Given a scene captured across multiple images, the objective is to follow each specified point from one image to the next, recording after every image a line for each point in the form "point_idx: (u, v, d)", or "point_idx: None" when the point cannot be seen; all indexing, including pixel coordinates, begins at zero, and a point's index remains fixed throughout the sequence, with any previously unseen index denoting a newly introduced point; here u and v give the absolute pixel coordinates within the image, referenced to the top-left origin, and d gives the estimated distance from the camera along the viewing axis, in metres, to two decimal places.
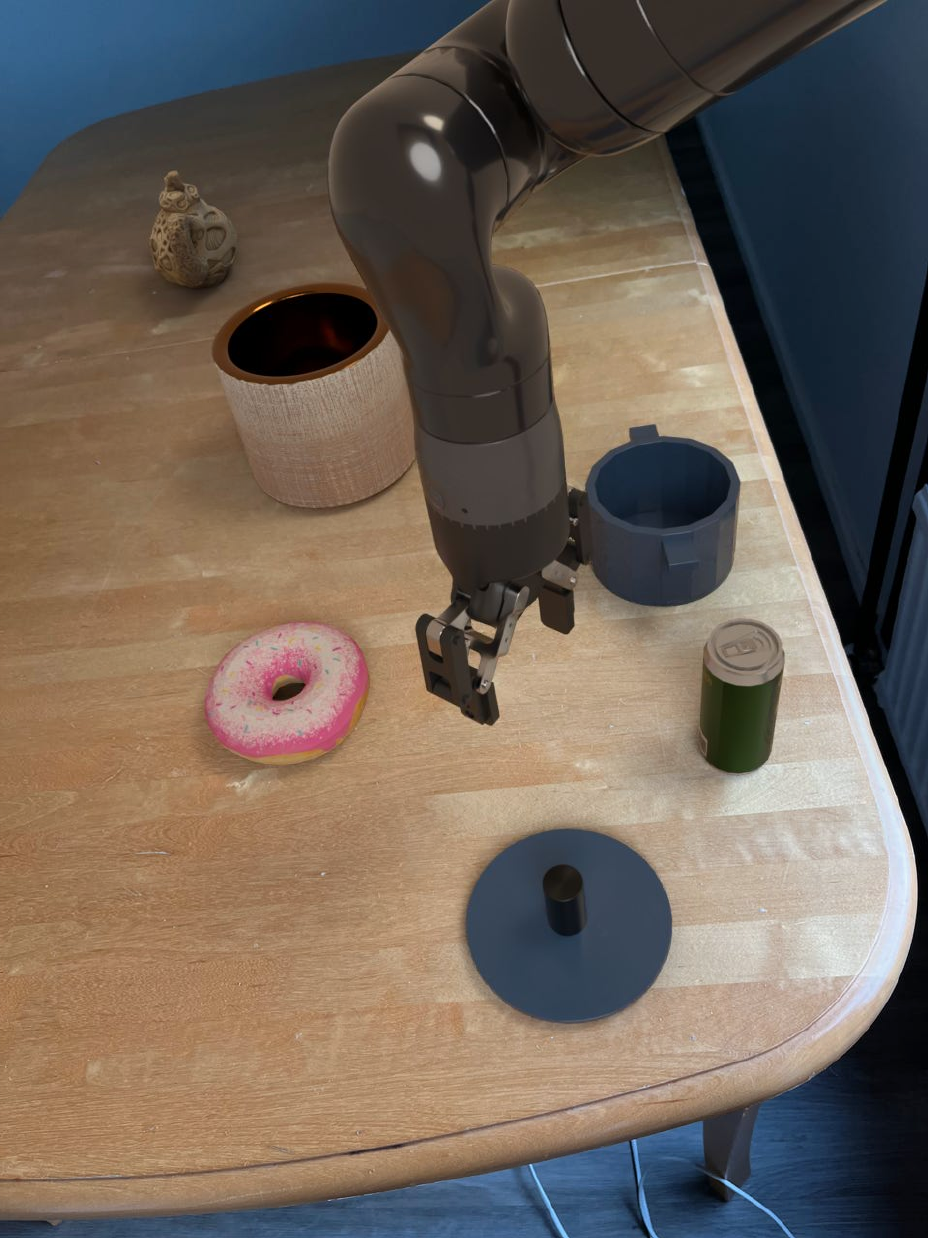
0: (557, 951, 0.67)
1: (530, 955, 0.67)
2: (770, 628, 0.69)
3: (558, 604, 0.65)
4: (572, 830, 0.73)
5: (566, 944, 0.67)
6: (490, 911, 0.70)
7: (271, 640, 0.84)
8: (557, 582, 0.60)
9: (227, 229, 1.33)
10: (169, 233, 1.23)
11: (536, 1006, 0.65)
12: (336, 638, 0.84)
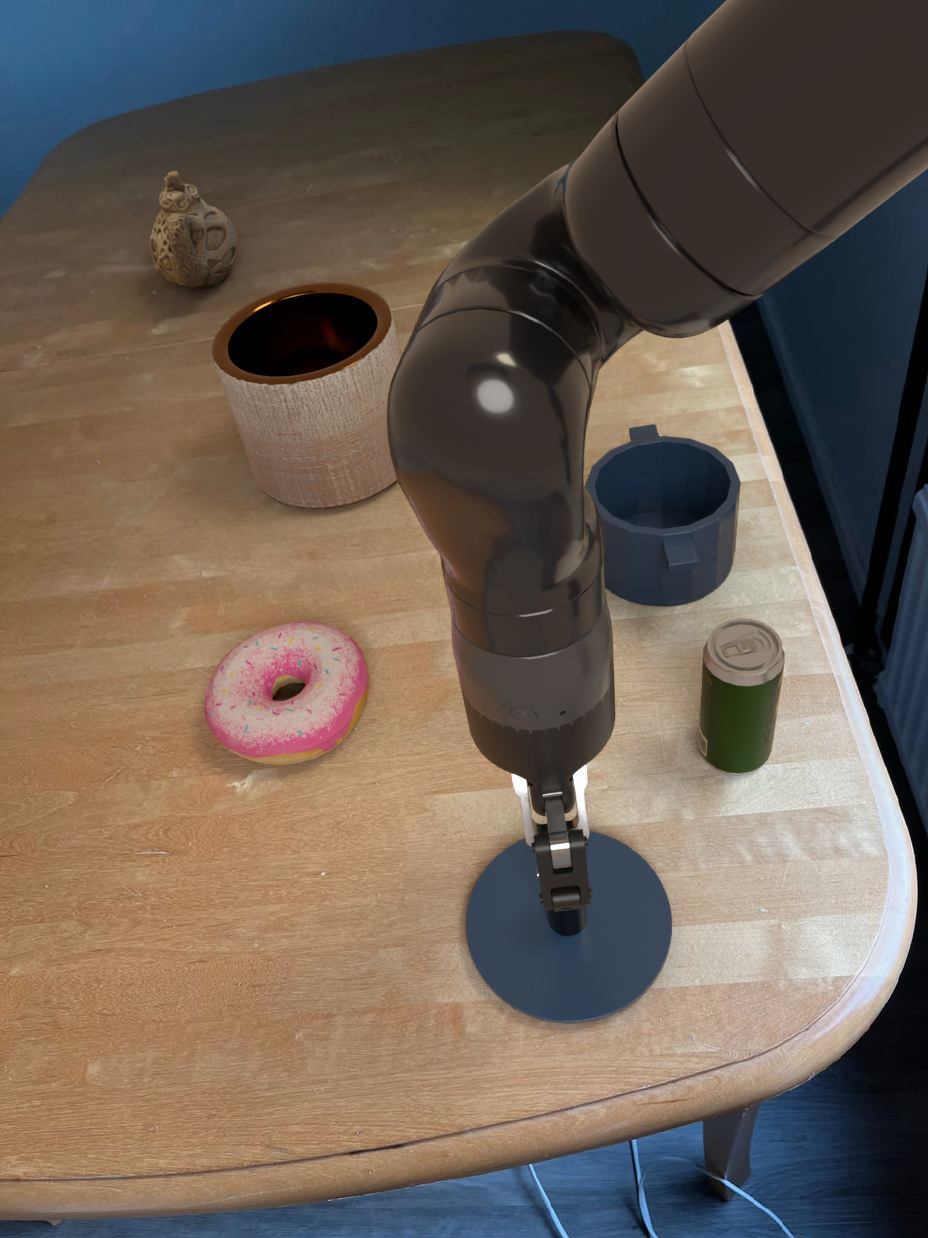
0: (557, 951, 0.67)
1: (530, 955, 0.67)
2: (770, 628, 0.69)
3: None
4: None
5: (566, 944, 0.67)
6: (490, 911, 0.70)
7: (271, 640, 0.84)
8: None
9: (227, 229, 1.33)
10: (169, 233, 1.23)
11: (536, 1006, 0.65)
12: (336, 638, 0.84)
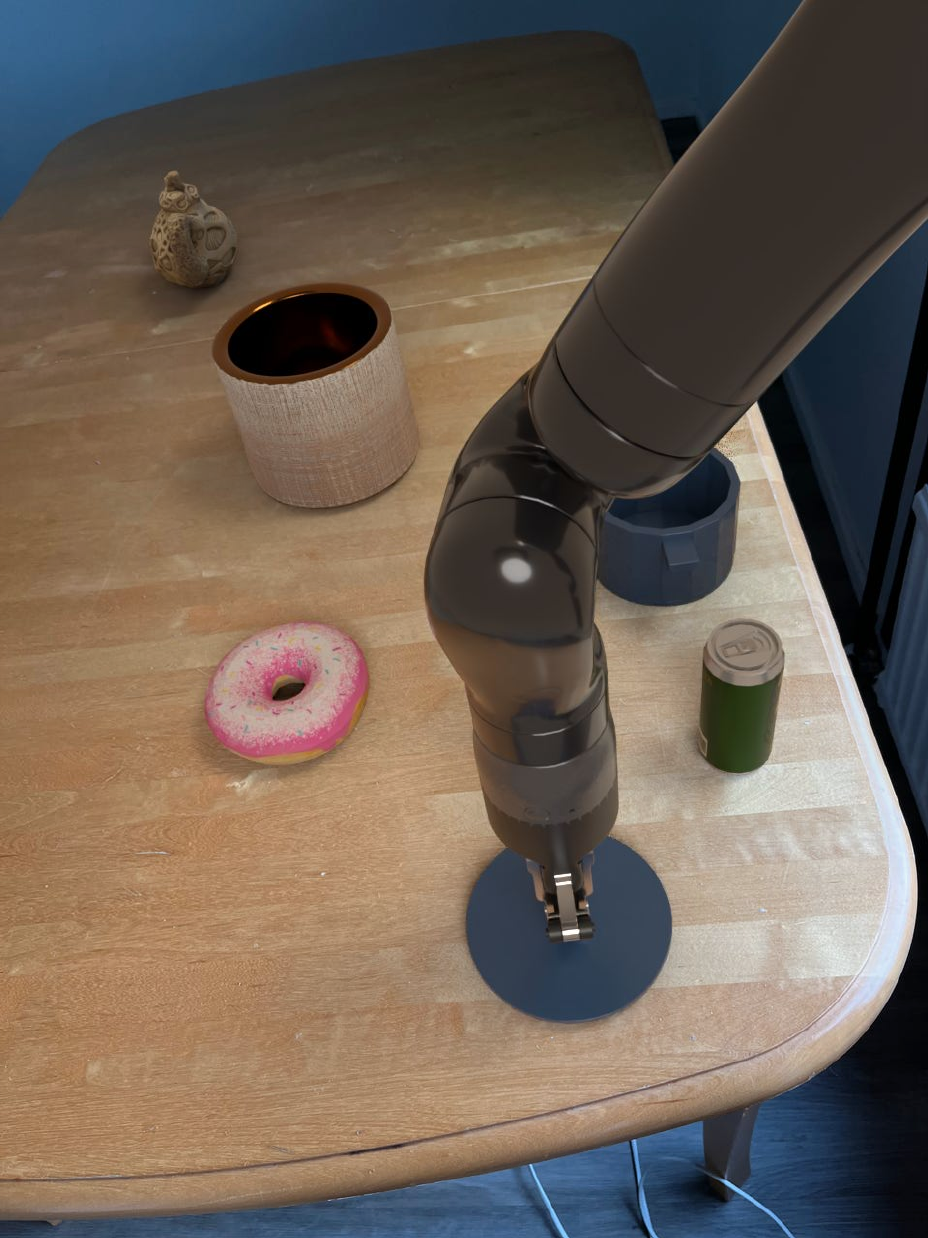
0: (557, 951, 0.67)
1: (530, 956, 0.67)
2: (770, 628, 0.69)
3: None
4: None
5: (566, 944, 0.67)
6: (490, 911, 0.70)
7: (271, 640, 0.84)
8: None
9: (227, 229, 1.33)
10: (169, 233, 1.23)
11: (536, 1006, 0.65)
12: (336, 638, 0.84)
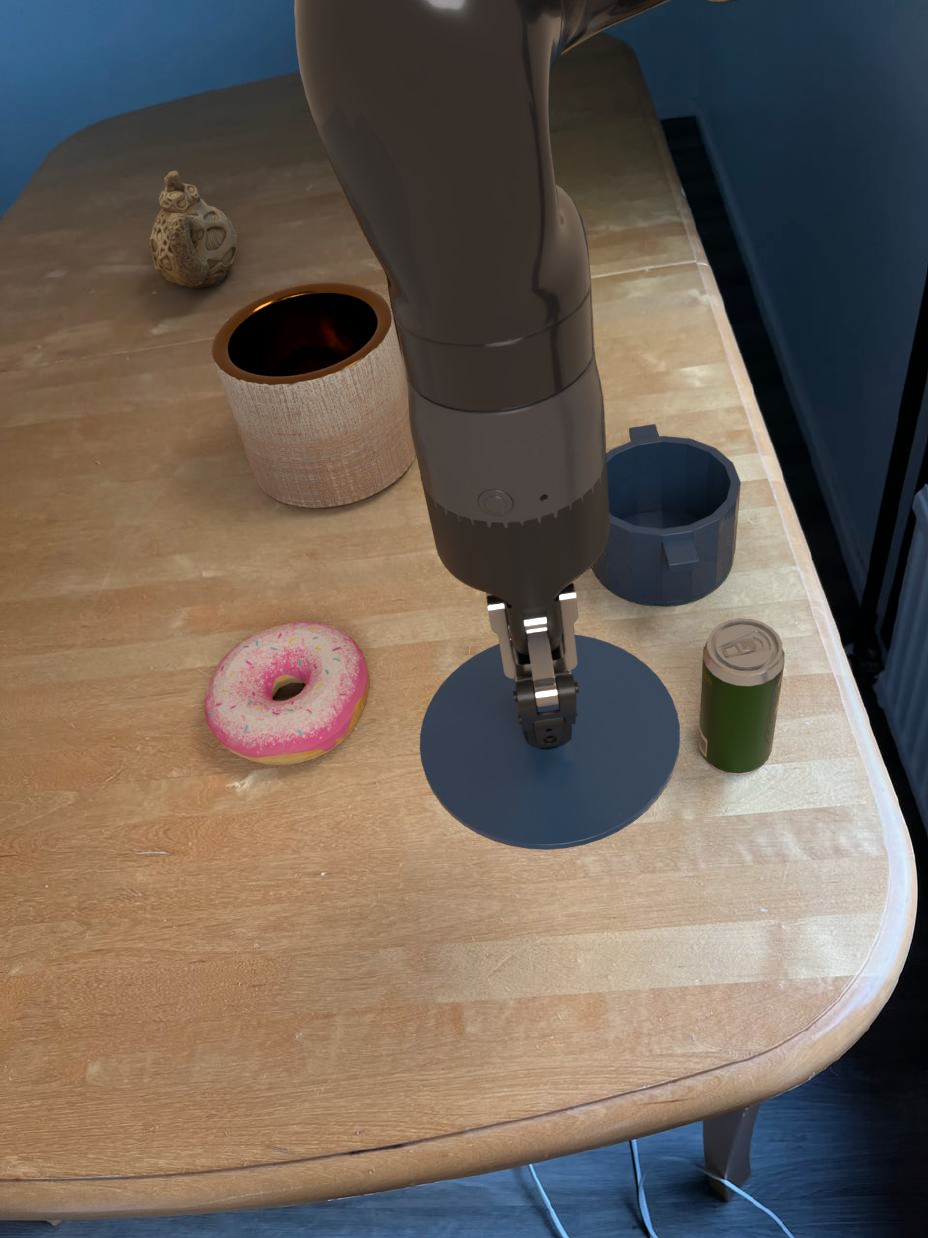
0: (534, 766, 0.53)
1: (499, 772, 0.53)
2: (770, 628, 0.69)
3: None
4: None
5: (546, 758, 0.53)
6: (450, 725, 0.55)
7: (271, 640, 0.84)
8: None
9: (227, 229, 1.33)
10: (169, 233, 1.23)
11: (506, 829, 0.51)
12: (336, 638, 0.84)
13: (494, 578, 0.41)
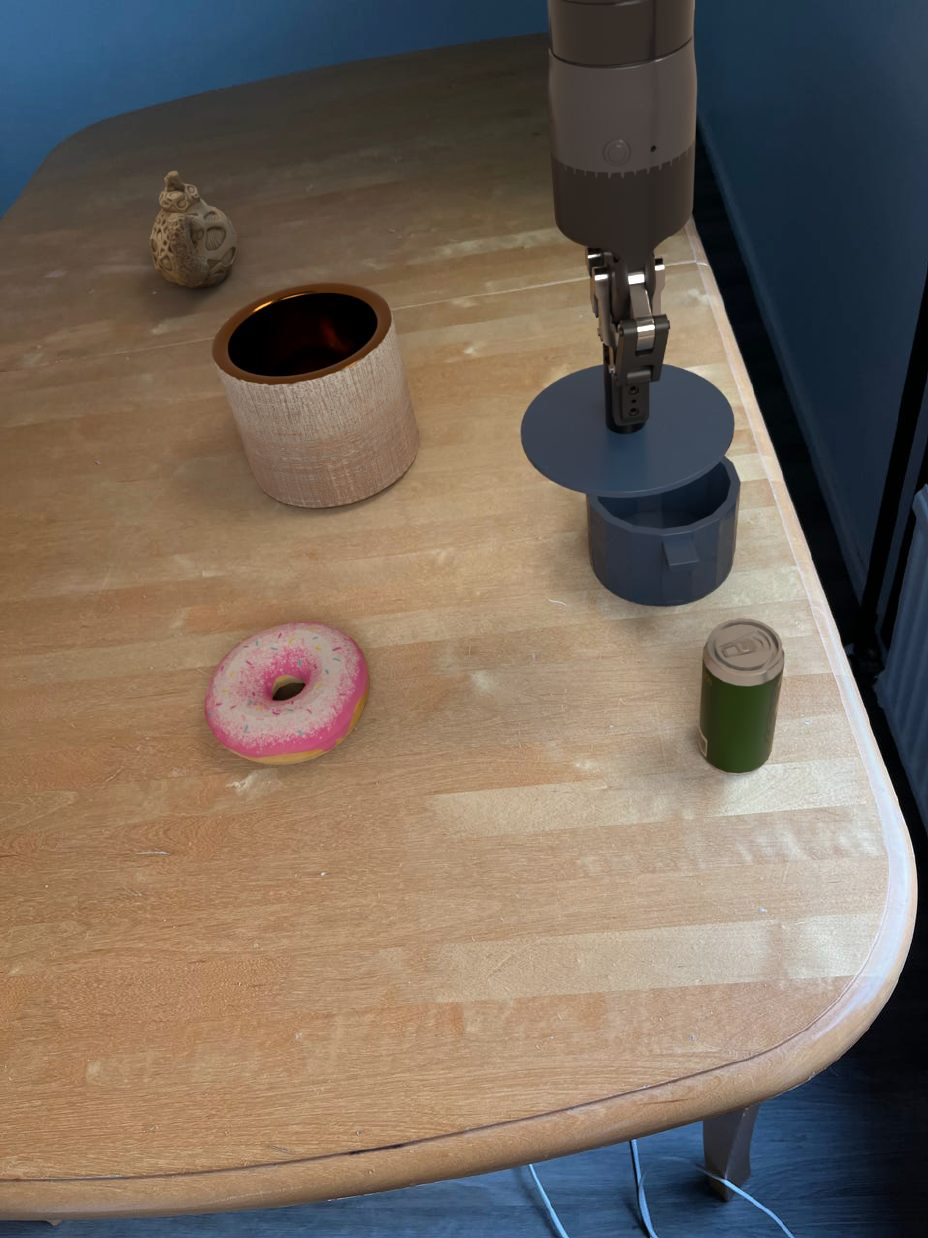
0: (617, 444, 0.65)
1: (588, 450, 0.65)
2: (770, 628, 0.69)
3: None
4: None
5: (626, 439, 0.65)
6: (545, 422, 0.68)
7: (271, 640, 0.84)
8: None
9: (227, 229, 1.33)
10: (169, 233, 1.23)
11: (598, 483, 0.63)
12: (336, 638, 0.84)
13: (608, 230, 0.53)
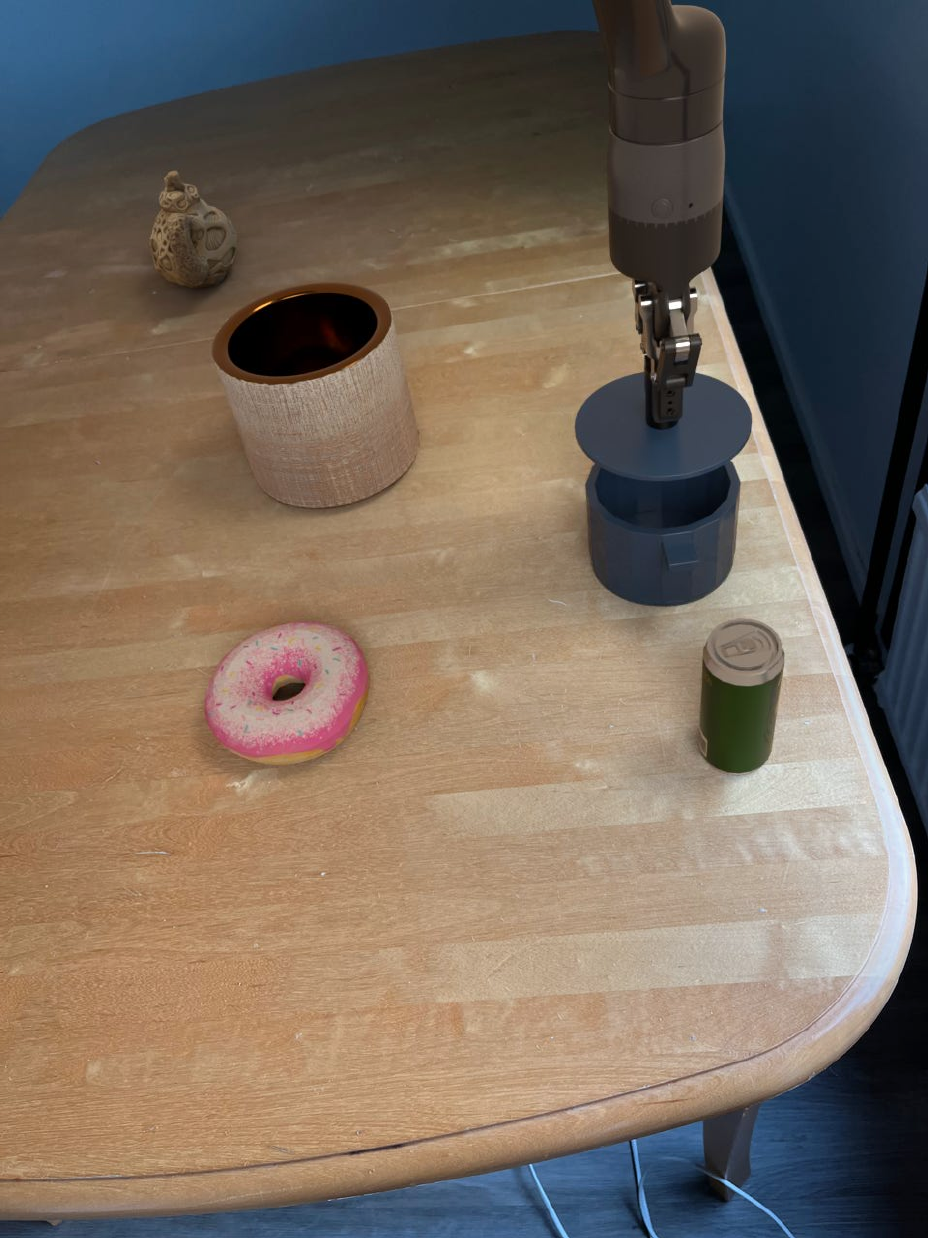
0: (655, 438, 0.79)
1: (632, 442, 0.79)
2: (770, 628, 0.69)
3: None
4: None
5: (663, 434, 0.80)
6: (595, 420, 0.82)
7: (271, 640, 0.84)
8: None
9: (227, 229, 1.33)
10: (169, 233, 1.23)
11: (640, 469, 0.77)
12: (336, 638, 0.84)
13: (653, 267, 0.68)
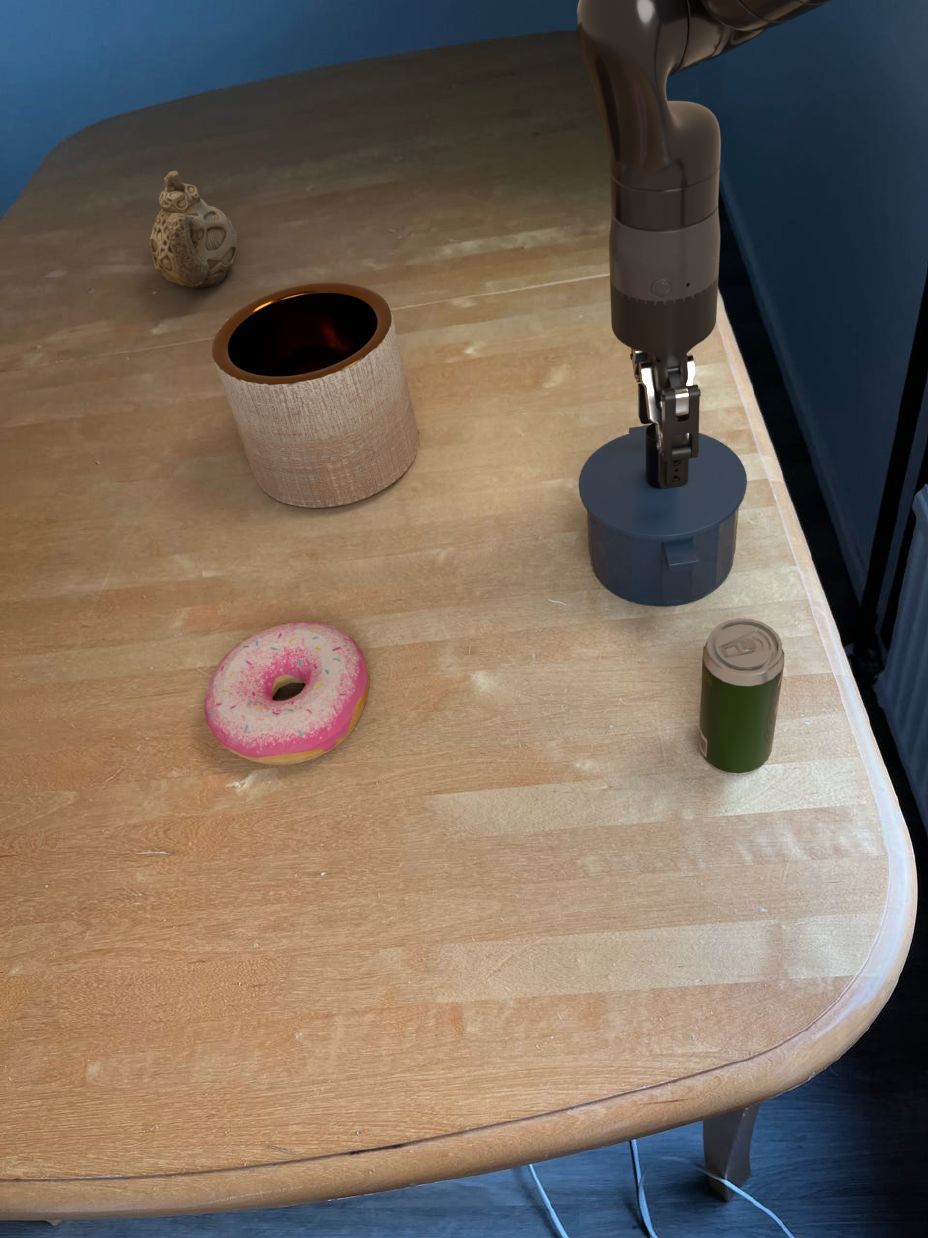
0: (655, 497, 0.84)
1: (633, 501, 0.84)
2: (770, 628, 0.69)
3: None
4: None
5: (662, 493, 0.84)
6: (597, 478, 0.86)
7: (271, 640, 0.84)
8: None
9: (227, 229, 1.33)
10: (169, 233, 1.23)
11: (641, 528, 0.82)
12: (336, 638, 0.84)
13: (653, 340, 0.72)
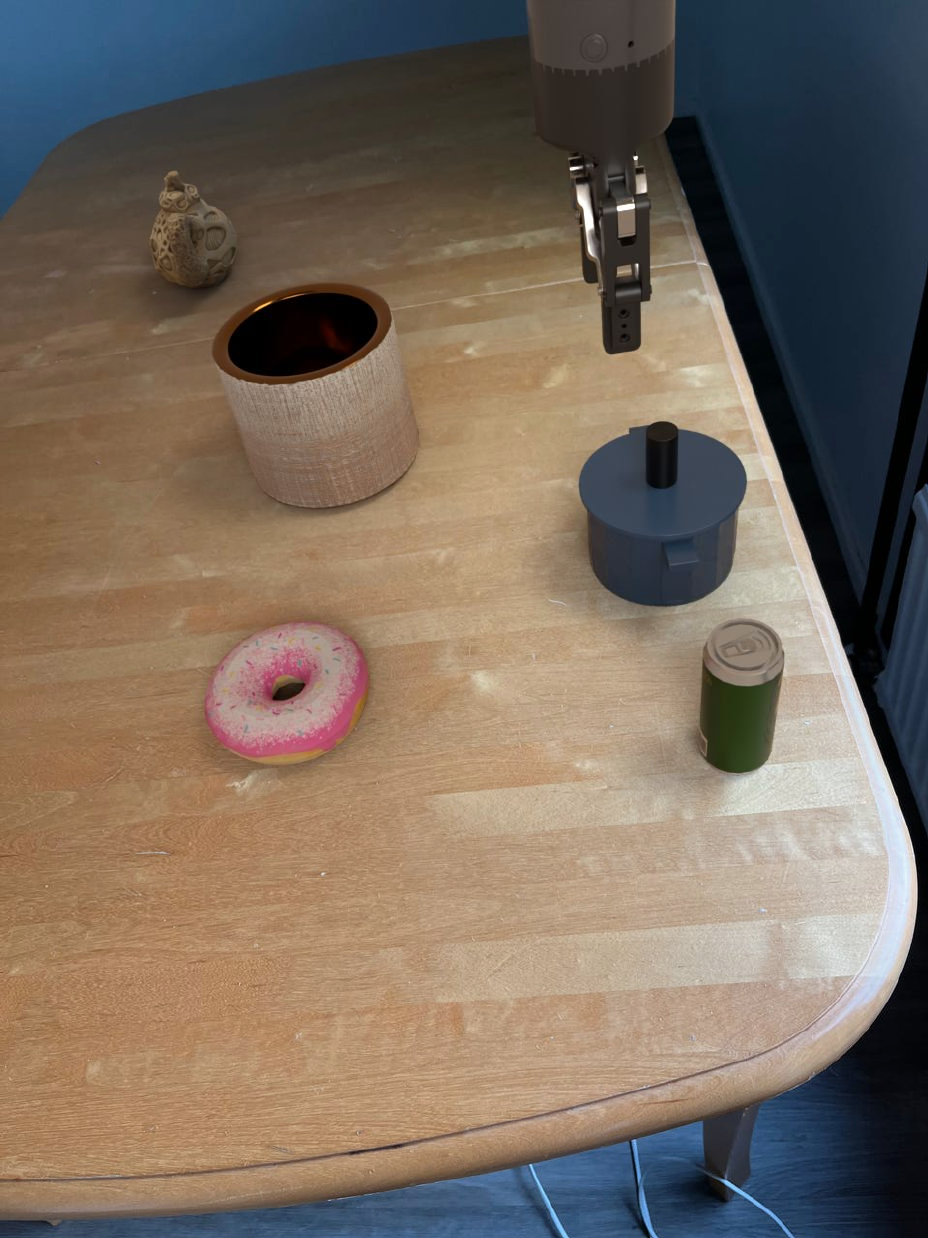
0: (655, 497, 0.84)
1: (633, 501, 0.84)
2: (770, 628, 0.69)
3: None
4: None
5: (662, 493, 0.84)
6: (597, 478, 0.86)
7: (271, 640, 0.84)
8: None
9: (227, 229, 1.33)
10: (169, 233, 1.23)
11: (641, 528, 0.82)
12: (336, 638, 0.84)
13: (587, 132, 0.53)
